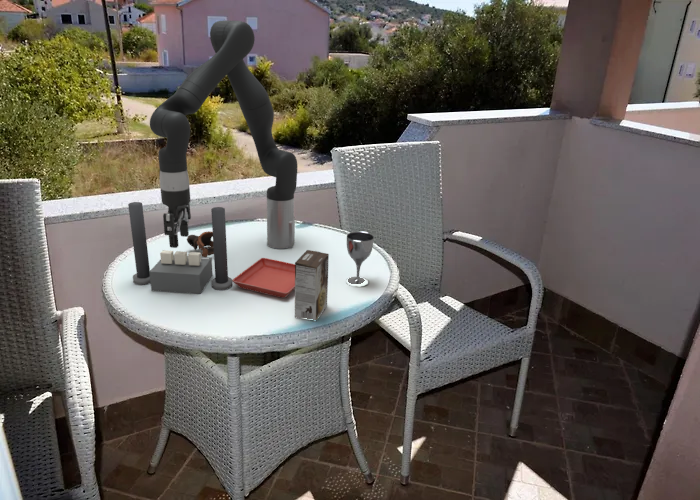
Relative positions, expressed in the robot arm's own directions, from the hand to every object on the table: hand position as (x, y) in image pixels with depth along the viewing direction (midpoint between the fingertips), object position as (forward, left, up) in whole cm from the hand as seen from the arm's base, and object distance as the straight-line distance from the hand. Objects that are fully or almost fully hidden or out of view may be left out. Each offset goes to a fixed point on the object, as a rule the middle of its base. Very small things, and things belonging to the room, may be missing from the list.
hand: (179, 241), depth 147 cm
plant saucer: (-26, -4, -14) cm, 30 cm away
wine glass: (-51, -8, -13) cm, 53 cm away
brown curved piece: (0, -23, -13) cm, 27 cm away
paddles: (0, 0, -6) cm, 6 cm away
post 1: (+12, 0, -13) cm, 17 cm away
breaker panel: (0, 0, -13) cm, 13 cm away
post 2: (-12, 0, -13) cm, 17 cm away
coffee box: (-39, +12, -13) cm, 43 cm away
